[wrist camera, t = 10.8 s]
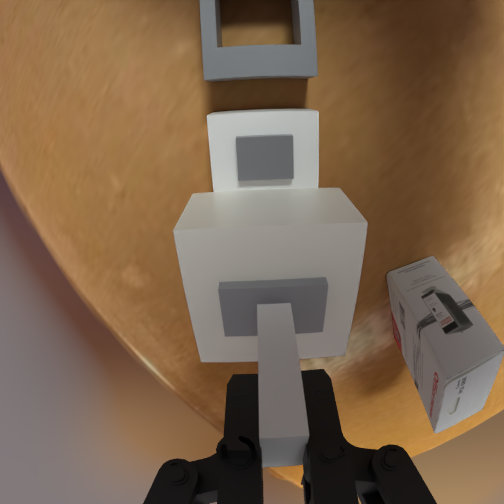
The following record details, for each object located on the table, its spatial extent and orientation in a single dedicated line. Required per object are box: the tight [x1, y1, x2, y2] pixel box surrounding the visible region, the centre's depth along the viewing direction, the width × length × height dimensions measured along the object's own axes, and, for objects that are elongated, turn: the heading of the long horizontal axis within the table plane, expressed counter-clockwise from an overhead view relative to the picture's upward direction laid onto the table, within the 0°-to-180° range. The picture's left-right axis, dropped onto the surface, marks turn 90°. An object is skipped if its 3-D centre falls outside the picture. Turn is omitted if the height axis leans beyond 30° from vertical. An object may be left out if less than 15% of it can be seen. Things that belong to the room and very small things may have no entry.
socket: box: [207, 108, 319, 192], centre depth 21 cm, size 18×6×4 cm, turn 3°
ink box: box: [386, 256, 504, 433], centre depth 20 cm, size 9×5×12 cm, turn 21°
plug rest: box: [200, 0, 318, 82], centre depth 14 cm, size 8×6×3 cm
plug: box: [173, 188, 368, 362], centre depth 18 cm, size 8×8×8 cm
